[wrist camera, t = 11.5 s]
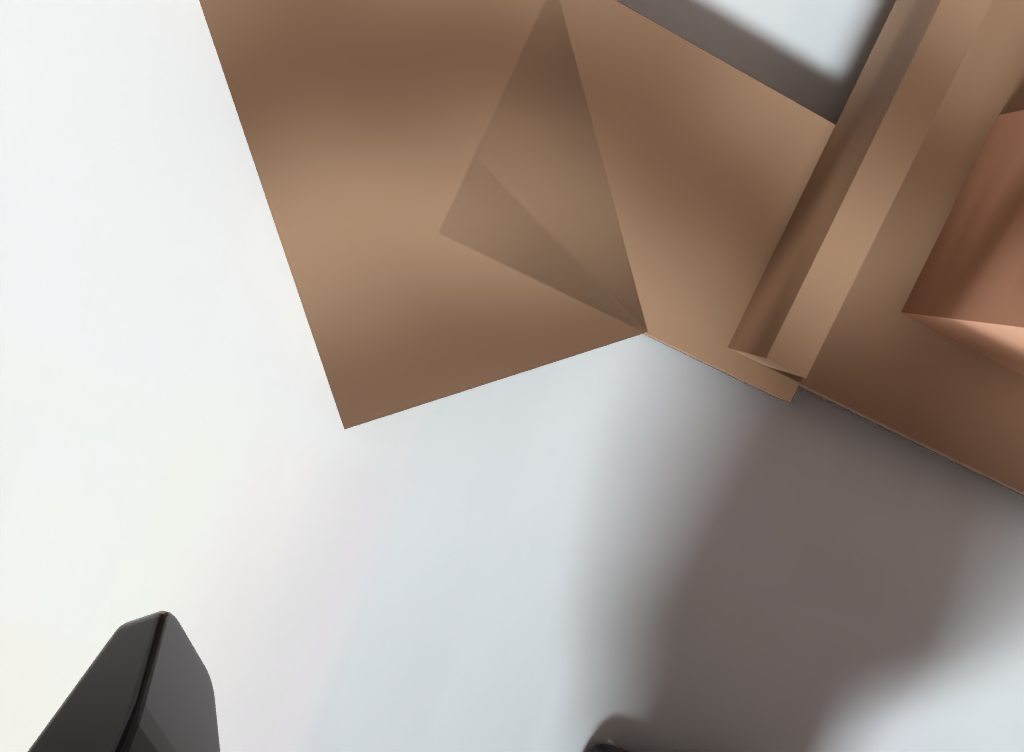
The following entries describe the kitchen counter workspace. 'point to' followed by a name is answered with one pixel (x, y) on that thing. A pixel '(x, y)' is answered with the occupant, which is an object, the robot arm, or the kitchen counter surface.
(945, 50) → the pull board
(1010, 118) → the block
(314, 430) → the kitchen counter surface
